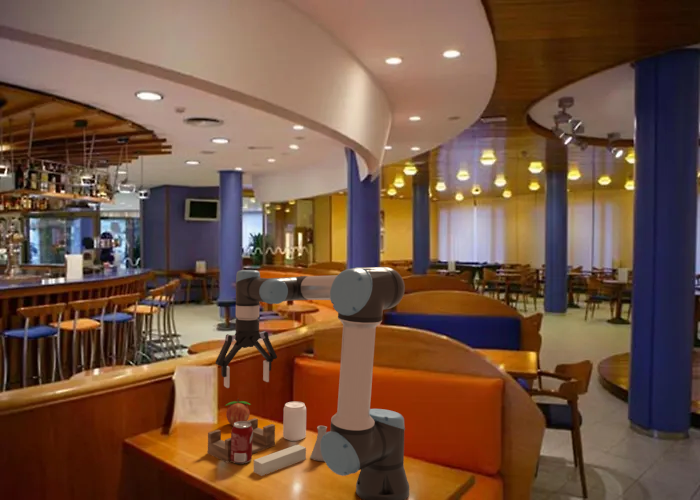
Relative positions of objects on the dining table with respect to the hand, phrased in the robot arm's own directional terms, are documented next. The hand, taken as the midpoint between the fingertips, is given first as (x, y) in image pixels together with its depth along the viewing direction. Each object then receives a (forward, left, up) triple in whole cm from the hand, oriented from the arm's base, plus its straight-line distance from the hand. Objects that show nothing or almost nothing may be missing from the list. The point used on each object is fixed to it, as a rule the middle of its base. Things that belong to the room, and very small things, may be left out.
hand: (246, 384), depth 178 cm
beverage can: (+2, -24, -25) cm, 35 cm away
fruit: (+28, -19, -25) cm, 41 cm away
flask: (-17, -18, -25) cm, 35 cm away
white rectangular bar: (-12, -4, -25) cm, 28 cm away
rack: (+7, -4, -24) cm, 26 cm away
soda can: (0, +2, -25) cm, 25 cm away
